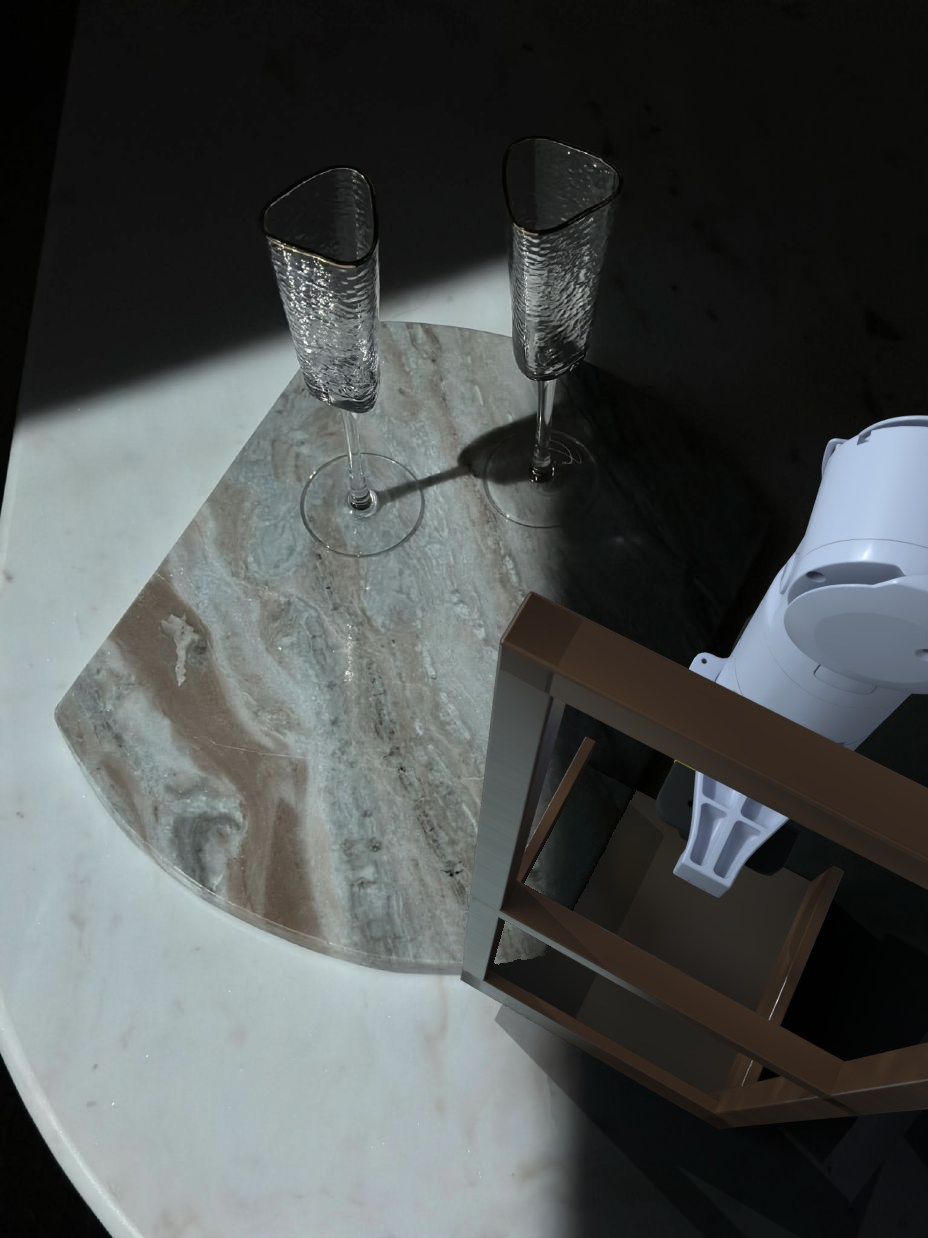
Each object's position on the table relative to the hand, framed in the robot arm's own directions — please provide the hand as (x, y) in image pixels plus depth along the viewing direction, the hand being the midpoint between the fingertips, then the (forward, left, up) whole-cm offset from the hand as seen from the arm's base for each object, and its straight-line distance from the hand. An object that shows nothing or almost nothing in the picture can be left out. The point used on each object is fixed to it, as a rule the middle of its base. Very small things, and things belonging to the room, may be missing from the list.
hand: (728, 783), depth 54 cm
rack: (0, +6, -8) cm, 10 cm away
